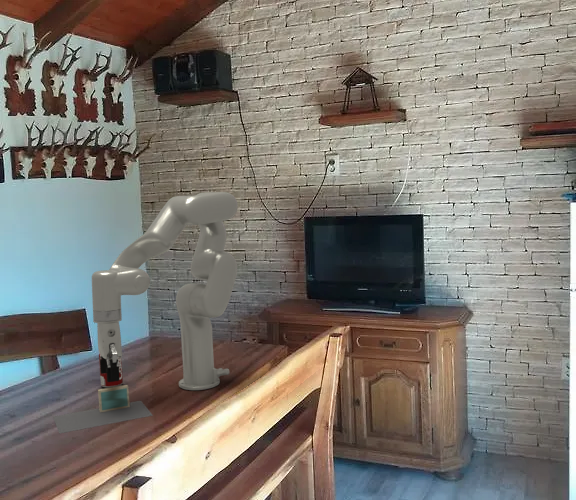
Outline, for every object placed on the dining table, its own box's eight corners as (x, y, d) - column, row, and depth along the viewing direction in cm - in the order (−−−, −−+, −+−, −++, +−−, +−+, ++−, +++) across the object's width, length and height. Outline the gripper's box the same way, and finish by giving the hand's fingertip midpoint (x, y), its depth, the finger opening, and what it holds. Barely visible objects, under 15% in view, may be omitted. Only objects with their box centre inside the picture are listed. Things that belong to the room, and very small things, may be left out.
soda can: (100, 390, 202) (98, 352, 200) (101, 383, 208) (98, 347, 207) (123, 387, 204) (121, 349, 202) (122, 381, 210) (120, 344, 209)
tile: (128, 405, 185) (127, 384, 184) (129, 407, 184) (128, 386, 183) (99, 410, 182) (97, 389, 181) (100, 412, 180) (99, 391, 179)
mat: (140, 402, 189) (140, 400, 189) (153, 417, 176) (153, 415, 176) (52, 418, 178) (52, 416, 178) (59, 435, 166) (59, 433, 166)
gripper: (128, 319, 174) (130, 382, 175) (114, 309, 189) (117, 368, 190) (99, 322, 170) (101, 386, 172) (88, 312, 186) (90, 371, 187)
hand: (109, 376), depth 181 cm, fingers open, 9 cm apart
